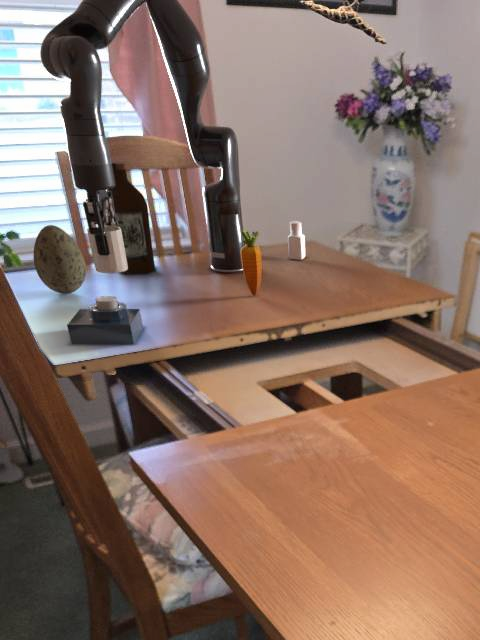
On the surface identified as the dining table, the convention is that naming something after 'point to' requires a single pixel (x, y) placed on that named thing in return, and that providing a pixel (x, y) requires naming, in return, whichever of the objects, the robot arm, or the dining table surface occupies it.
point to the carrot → (251, 262)
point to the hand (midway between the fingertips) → (108, 250)
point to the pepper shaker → (296, 241)
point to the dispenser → (105, 326)
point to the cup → (117, 252)
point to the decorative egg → (58, 260)
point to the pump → (106, 302)
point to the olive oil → (132, 222)
